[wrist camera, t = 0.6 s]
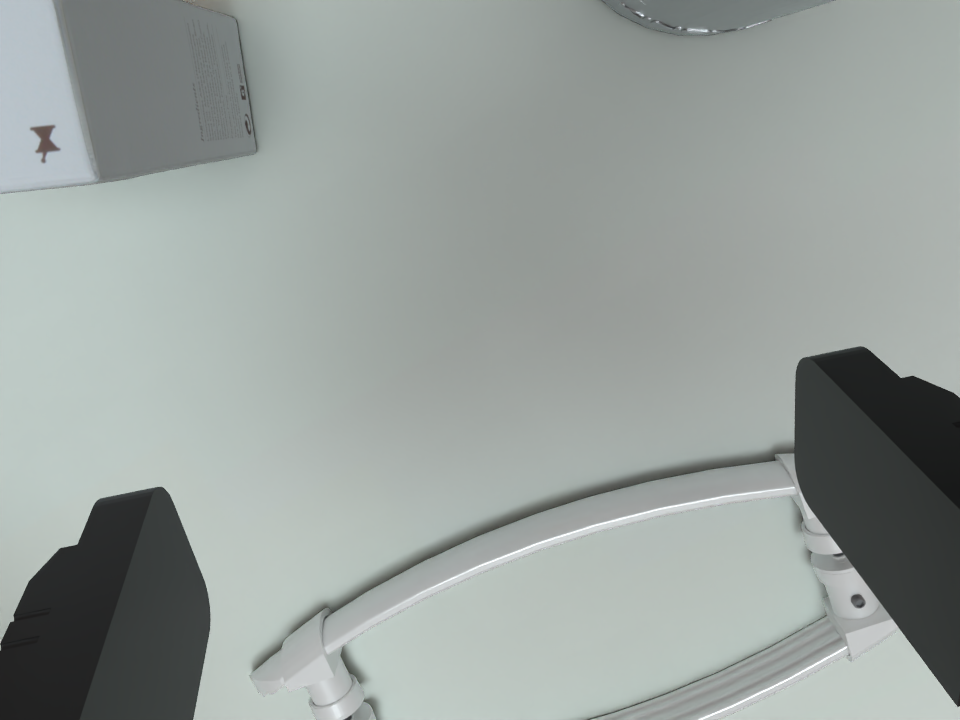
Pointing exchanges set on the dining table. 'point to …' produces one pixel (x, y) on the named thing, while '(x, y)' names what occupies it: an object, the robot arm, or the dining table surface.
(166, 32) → the skincare box
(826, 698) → the dining table surface
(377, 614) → the door handle
